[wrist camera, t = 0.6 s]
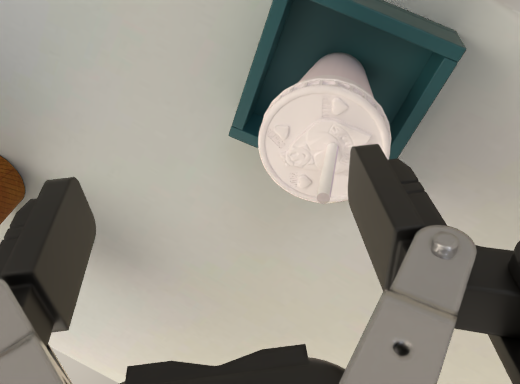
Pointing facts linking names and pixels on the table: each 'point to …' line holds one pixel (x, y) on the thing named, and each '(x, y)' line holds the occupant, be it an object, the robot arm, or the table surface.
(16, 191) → the disposable coffee cup
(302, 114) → the smoothie
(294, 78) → the bin
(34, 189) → the table surface
